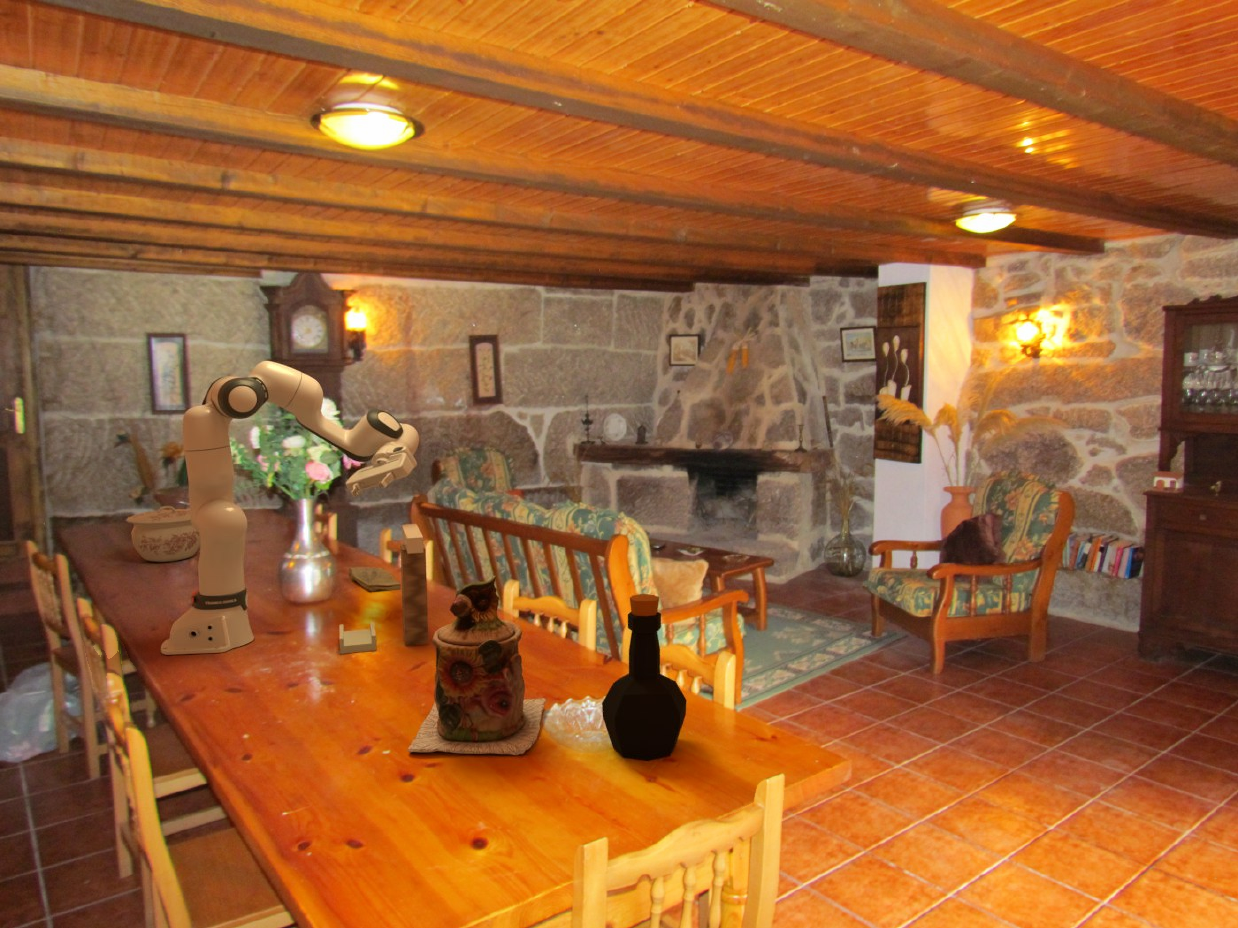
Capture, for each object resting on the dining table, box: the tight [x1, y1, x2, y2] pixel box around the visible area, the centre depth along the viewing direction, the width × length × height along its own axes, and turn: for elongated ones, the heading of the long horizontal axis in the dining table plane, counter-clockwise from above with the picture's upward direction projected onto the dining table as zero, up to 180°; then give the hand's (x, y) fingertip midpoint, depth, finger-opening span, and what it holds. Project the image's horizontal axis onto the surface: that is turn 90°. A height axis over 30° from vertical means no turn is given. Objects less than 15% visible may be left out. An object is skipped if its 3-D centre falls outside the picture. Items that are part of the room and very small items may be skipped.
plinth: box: [400, 543, 430, 647], centre depth 232 cm, size 6×7×26 cm
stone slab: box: [348, 566, 402, 593], centre depth 297 cm, size 12×4×30 cm
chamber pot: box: [125, 505, 201, 564], centre depth 333 cm, size 28×28×21 cm
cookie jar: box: [407, 575, 547, 756], centre depth 175 cm, size 25×25×32 cm
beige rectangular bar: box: [401, 523, 424, 554], centre depth 232 cm, size 4×20×4 cm, turn 18°
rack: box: [339, 621, 377, 655], centre depth 231 cm, size 9×13×4 cm
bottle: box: [601, 593, 687, 762], centre depth 167 cm, size 16×16×30 cm
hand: (367, 490), depth 236 cm, fingers open, 8 cm apart
